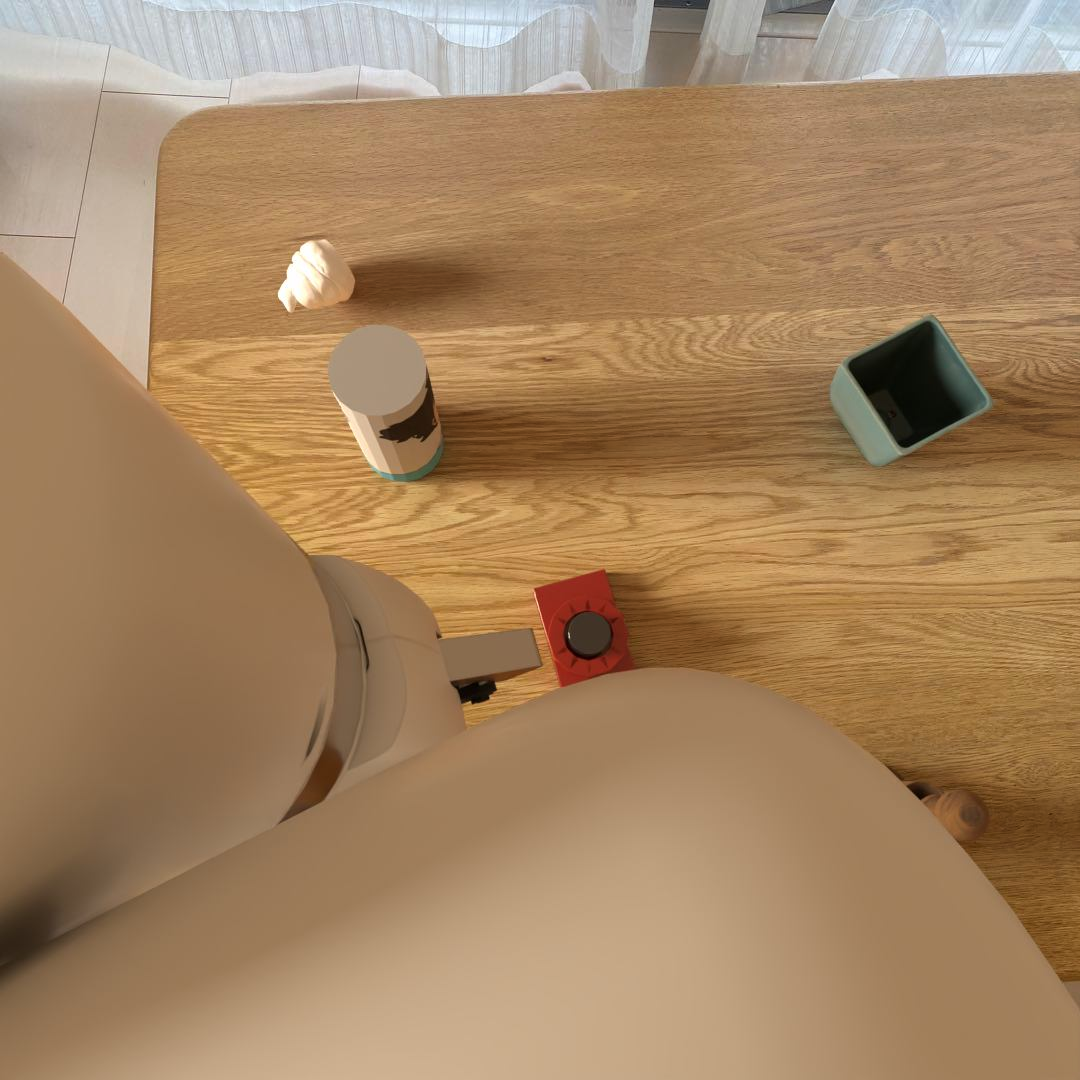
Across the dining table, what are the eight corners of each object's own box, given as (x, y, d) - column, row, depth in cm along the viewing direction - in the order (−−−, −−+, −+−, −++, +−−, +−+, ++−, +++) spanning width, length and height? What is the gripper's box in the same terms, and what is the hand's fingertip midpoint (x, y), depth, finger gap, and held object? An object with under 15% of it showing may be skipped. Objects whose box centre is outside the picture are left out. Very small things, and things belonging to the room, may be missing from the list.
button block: (640, 690, 74) (645, 687, 71) (566, 712, 73) (568, 709, 70) (604, 571, 76) (607, 563, 73) (532, 591, 75) (532, 584, 73)
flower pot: (859, 492, 78) (902, 457, 69) (803, 404, 80) (838, 360, 71) (946, 445, 79) (998, 405, 70) (888, 360, 81) (933, 311, 72)
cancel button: (613, 650, 72) (616, 647, 70) (573, 661, 72) (575, 658, 70) (601, 610, 73) (603, 607, 71) (562, 621, 72) (563, 618, 71)
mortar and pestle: (813, 836, 71) (909, 858, 54) (827, 752, 73) (924, 747, 55) (898, 858, 71) (1022, 887, 54) (910, 773, 73) (1035, 774, 55)
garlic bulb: (271, 296, 81) (253, 263, 76) (325, 256, 82) (312, 221, 77) (309, 340, 80) (294, 310, 75) (364, 299, 81) (353, 267, 76)
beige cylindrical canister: (460, 445, 78) (447, 372, 64) (400, 498, 77) (372, 435, 62) (407, 390, 79) (382, 305, 65) (346, 441, 78) (307, 366, 64)
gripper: (-300, 1033, 16) (126, 896, 34) (648, 754, 18) (584, 761, 35) (-328, 620, 18) (91, 693, 35) (540, 397, 19) (530, 573, 37)
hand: (336, 727), depth 35 cm, fingers closed on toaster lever, 6 cm apart
